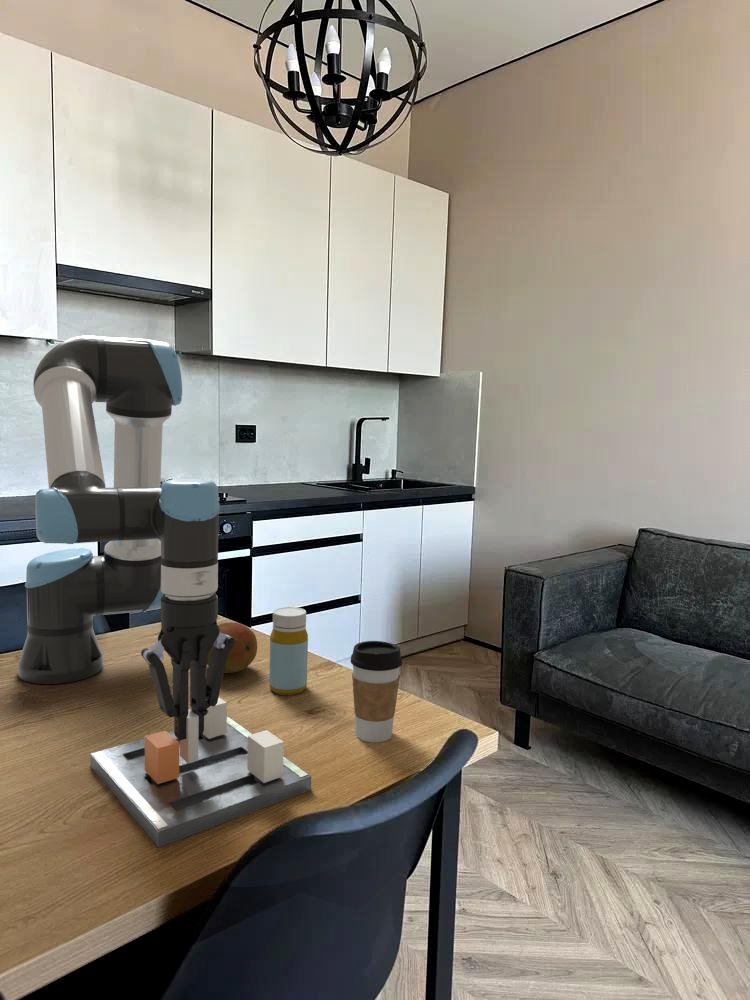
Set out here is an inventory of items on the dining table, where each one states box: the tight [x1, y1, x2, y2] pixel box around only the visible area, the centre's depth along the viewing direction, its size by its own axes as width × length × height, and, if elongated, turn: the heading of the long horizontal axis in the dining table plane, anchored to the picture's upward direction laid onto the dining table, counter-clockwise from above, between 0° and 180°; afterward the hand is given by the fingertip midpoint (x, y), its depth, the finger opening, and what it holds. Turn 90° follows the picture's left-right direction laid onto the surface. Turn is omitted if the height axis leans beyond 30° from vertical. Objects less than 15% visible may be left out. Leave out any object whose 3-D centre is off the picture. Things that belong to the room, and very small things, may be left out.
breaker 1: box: [201, 696, 228, 739], centre depth 110 cm, size 4×3×6 cm
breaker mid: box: [144, 730, 179, 784], centre depth 97 cm, size 4×3×6 cm
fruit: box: [207, 621, 258, 674], centre depth 141 cm, size 12×12×10 cm
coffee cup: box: [350, 640, 403, 743], centre depth 115 cm, size 8×8×15 cm
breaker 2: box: [247, 729, 285, 783], centre depth 98 cm, size 4×3×6 cm
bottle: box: [268, 606, 309, 696], centre depth 133 cm, size 7×7×15 cm
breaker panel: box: [89, 715, 312, 848], centre depth 100 cm, size 24×22×2 cm
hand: (189, 758), depth 99 cm, fingers closed
